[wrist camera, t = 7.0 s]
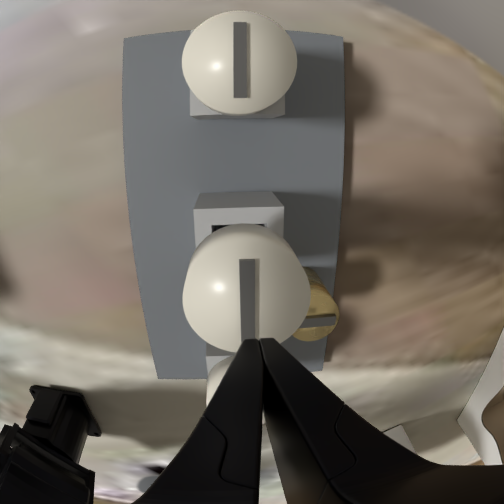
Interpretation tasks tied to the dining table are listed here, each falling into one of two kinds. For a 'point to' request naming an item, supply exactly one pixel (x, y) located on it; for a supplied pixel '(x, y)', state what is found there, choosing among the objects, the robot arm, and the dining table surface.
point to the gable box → (487, 410)
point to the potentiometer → (318, 311)
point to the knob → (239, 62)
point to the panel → (227, 181)
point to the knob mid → (245, 287)
